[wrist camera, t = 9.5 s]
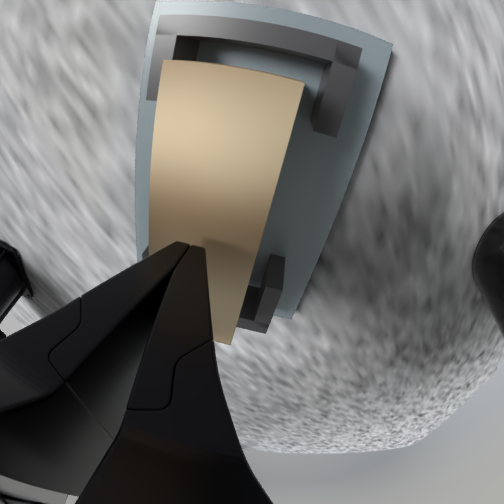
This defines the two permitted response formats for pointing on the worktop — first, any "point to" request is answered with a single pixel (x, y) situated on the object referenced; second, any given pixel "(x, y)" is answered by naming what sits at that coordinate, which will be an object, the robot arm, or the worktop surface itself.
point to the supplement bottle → (492, 269)
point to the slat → (218, 169)
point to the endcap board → (302, 136)
